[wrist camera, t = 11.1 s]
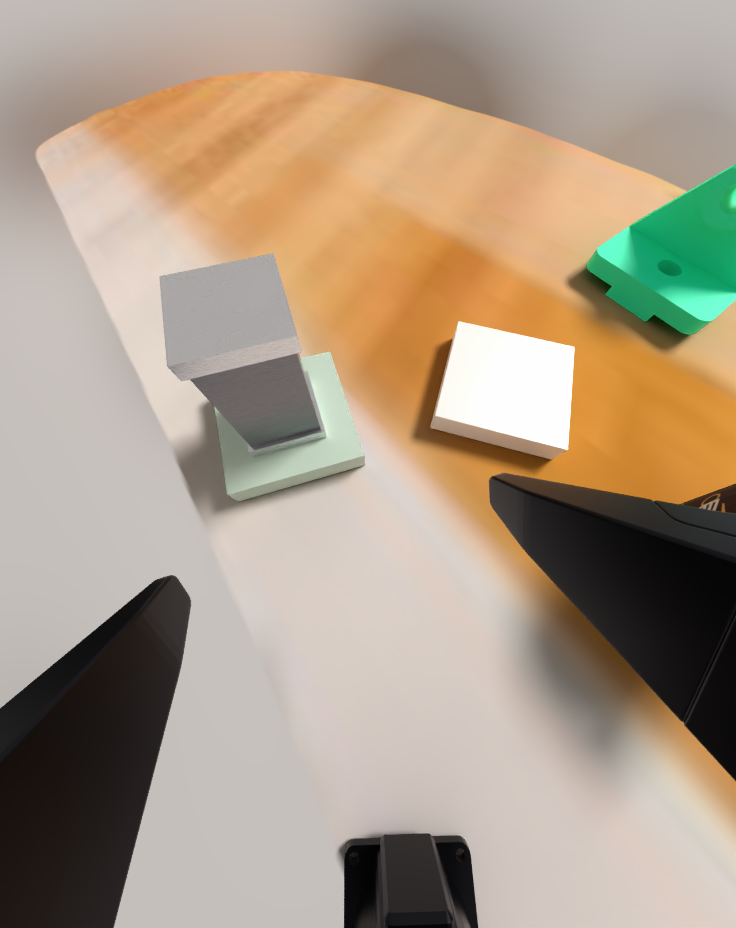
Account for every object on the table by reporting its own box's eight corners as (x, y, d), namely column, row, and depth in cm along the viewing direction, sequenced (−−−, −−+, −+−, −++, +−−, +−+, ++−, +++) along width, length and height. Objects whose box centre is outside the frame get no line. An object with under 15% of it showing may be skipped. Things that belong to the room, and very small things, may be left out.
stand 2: (552, 459, 24) (567, 449, 22) (429, 427, 25) (434, 415, 23) (560, 362, 27) (574, 347, 25) (452, 338, 28) (458, 321, 26)
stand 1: (364, 465, 24) (364, 455, 22) (238, 501, 22) (227, 494, 21) (332, 367, 27) (329, 351, 25) (221, 394, 26) (210, 380, 24)
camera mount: (575, 276, 31) (666, 144, 22) (618, 246, 33) (720, 111, 24) (677, 346, 28) (839, 227, 18) (719, 309, 30) (887, 182, 20)
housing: (326, 437, 22) (297, 335, 13) (253, 457, 22) (167, 366, 12) (310, 379, 24) (273, 253, 15) (242, 396, 23) (159, 276, 14)
